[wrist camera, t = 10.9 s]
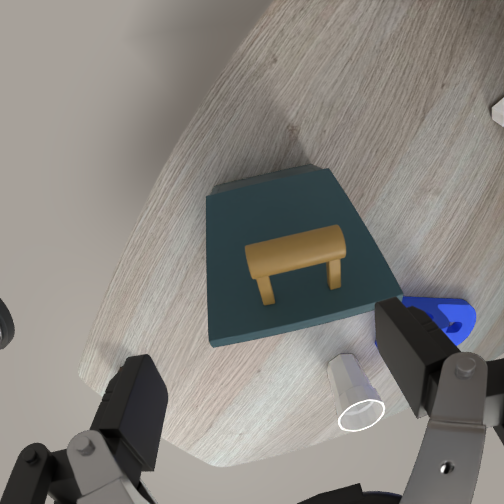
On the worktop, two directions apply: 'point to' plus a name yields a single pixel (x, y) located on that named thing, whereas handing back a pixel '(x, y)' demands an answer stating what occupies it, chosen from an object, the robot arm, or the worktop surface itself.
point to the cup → (353, 394)
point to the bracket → (446, 315)
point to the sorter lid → (289, 259)
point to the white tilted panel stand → (498, 112)
